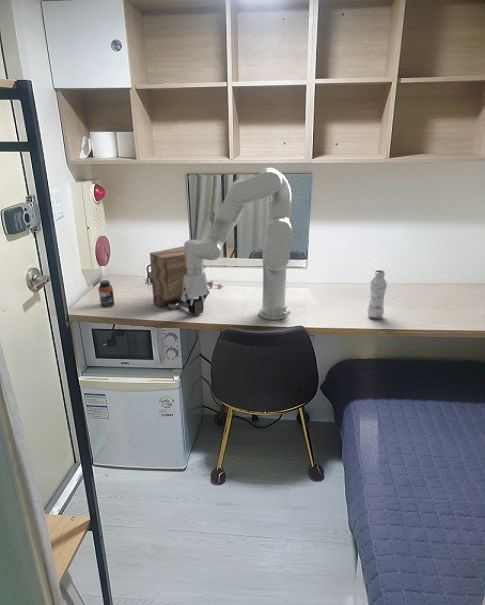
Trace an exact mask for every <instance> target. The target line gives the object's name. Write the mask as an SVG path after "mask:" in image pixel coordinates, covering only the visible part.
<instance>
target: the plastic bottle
mask: <svg viewBox="0 0 485 605" xmlns="http://www.w3.org/2000/svg"><path fill="white" fill-rule="evenodd" d="M385 274H386V273H385V271H384V270H375V272H374V277H373V278H372V280H371V281H370V283H369V286H370V298H369V305H368V307H367V315H368V317H369V318H372V319H381V318H383V317H384V312H385V310H384V303H385V302H384V300H385V299H384V298H385V293H386V290H387V284H388V283H387V281H386V279H385V278H384V277H385Z"/></svg>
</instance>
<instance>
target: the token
mask: <svg viewBox="0 0 485 605" xmlns="http://www.w3.org/2000/svg"><path fill="white" fill-rule="evenodd" d="M167 309H168V310H170V311H176V310H179V309H180V305H179V301H169V302H168V306H167Z"/></svg>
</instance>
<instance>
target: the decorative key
mask: <svg viewBox="0 0 485 605" xmlns="http://www.w3.org/2000/svg"><path fill="white" fill-rule="evenodd" d="M213 286H214V287H217V289H218V288H219V289H222V288H224V286H223V285H222V284H221V283H218V284H215V283H214V280H210V281H207V287H209V288H210V289H212V288H213Z"/></svg>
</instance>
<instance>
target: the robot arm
mask: <svg viewBox="0 0 485 605" xmlns="http://www.w3.org/2000/svg"><path fill="white" fill-rule="evenodd" d="M291 191H292V190H291V186H290V184H289V183H288V179H286V177H285V175H283V174H282V173H281V172H279V171H278V170H277V169H275V168H273V167H266V168H264V169H262V170H260V172H259V174H257V175H254V176H251V177H249V178H247V179H242V178H240V179H237V180H235V181H233V183H232V184H231V185H230V187H229V189H228V191H227V194H226V196H225V198H224V200H223V201H222V204H221V206H220V208H219V210H218V212H217V214H216V216H215V220H214V222H213V225H212V227H211V229H210V230H209V232H208V235H207V237H206V239H205V241H204V242H203V241H201V240H200V239H188V240H186V241H185V242H184V244H183V246H184V254H185V274H184V276H183V282H182V297H181V300H182V301H184V302H186V303H187V304H188V309H187V311H188V312H189V313H190V314H192V315H194V305H193V299H196V298H198V299H200V300H202V302H203V309H204V303H205V301H206V298H207V297H208V295H210V293H211V292H210V290H209V289H208V285H207V282H208V281H207V280H208V279H207V276H206V271H205V269H206V267H207V266H206V265H205V264H204V260H206V261H217V260H218V259H220V257H221V256H222V251H223V246H224V245H225V242H226V240H227V239H228V236H229V234H230V232H231V231H232V229H234V228H235V227H236V226H237V225H238V223H239V220H240V219H241V217H242V214H243V212H244V211H245V208H246V206H247V204H251V203H253V202H256V201H258V200H261V199H263V198H264V199H265V198H266V197H269V203H268V204H269V205H268V216H267V221H266V222H267V223H266V226H265V228H266V233H267V234H266V242H265V243H266V244H264V245H265V246H264V247H263V250H262V308H260V309H259V310H258V316H260V317H261V318H263V319H265V320H272V321H274V320H278V321H279V320H282V319H286V318H288V317H289V315H291V313H292V312H291V311H290V310H288V307H287V305H286V291H287V290H286V289H287V288H286V287H287V285H286V284H287V266H288V264H289V262H290V257H291V256H290V255H291V248H292V242H293V227H292V224H291V211H292V210H291V209H292V192H291ZM186 296H187V299H186Z"/></svg>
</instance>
